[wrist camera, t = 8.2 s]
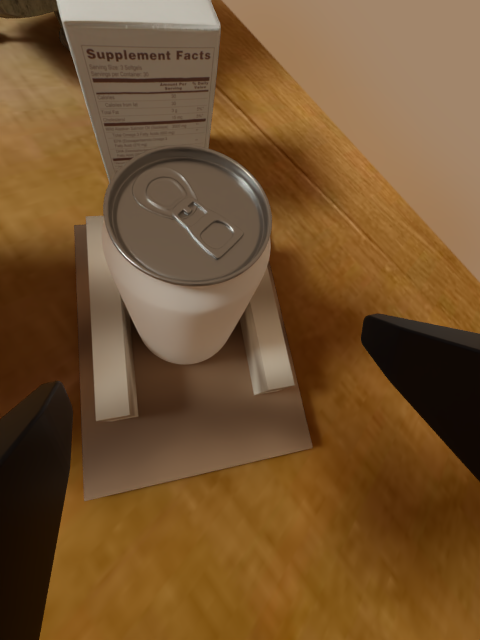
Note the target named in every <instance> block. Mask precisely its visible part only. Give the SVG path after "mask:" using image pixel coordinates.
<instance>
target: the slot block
mask: <svg viewBox="0 0 480 640" xmlns="http://www.w3.org/2000/svg"><path fill="white" fill-rule="evenodd" d="M103 221H104V216H90V217H86V225H74V232H75V260H76V288H77V315H78V343H79V370H80V398H81V426H82V453H83V481H84V501H87V500H92V499H96V498H100V497H105V496H109V495H113V494H117V493H122V492H126V491H130V490H135V489H139V488H143V487H147V486H152V485H156V484H160V483H164V482H169V481H173V480H177V479H182V478H186V477H190V476H194V475H199V474H203V473H207V472H212V471H216V470H220V469H224V468H229V467H233V466H237V465H242V464H246V463H250V462H254V461H259V460H263V459H267V458H272V457H276V456H280V455H284V454H289V453H293V452H297V451H302V450H306V449H310V448H313V446H312V442H311V438H310V433H309V429H308V425H307V421H306V416H305V412H304V408H303V403H302V399H301V395H300V391H299V386H298V382H297V378H296V374H295V369H294V365H293V361H292V356H291V352H290V348H289V344H288V339H287V335H286V331H285V327H284V322H283V318H282V314H281V309H280V305H279V301H278V297H277V292H276V288H275V284H274V279H273V275H272V271H271V267H270V262H268V265H267V268H266V271H265V273H264V276H263V278H262V280H261V282H260V284H259V286H258V287H257V289H256V291H255V293H254V295H253V296H252V298H251V300H250V302H249V304H248V305H247V307H246V309H245V311H244V312H243V314H242V316H241V318H240V319H239V321H238V323H237V325H236V326H235V328H234V330H233V331H232V333H231V335H230V336H229V338H228V340H227V341H226V343H225V344H224V346H223V347H222V348H221V349H220V350H219V351H218V352H217V353H216V354H215V355H213V356H212V357H210V358H209V359H207V360H204V361H202V362H199V363H195V364H186V365H183V364H175V363H171V362H168V361H165V360H163V359H161V358H159V357H157V356H156V355H155V354H153V353H152V352H151V351H150V350H149V349H148V348H147V347H146V345H145V344H144V342H143V341H142V339H141V337H140V335H139V333H138V331H137V329H136V327H135V325H134V323H133V321H132V319H131V317H130V314H129V312H128V310H127V308H126V306H125V304H124V301H123V299H122V297H121V295H120V293H119V290H118V288H117V286H116V284H115V281H114V279H113V277H112V275H111V272H110V270H109V267H108V265H107V262H106V259H105V255H104V251H103V246H102V226H103Z"/></svg>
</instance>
